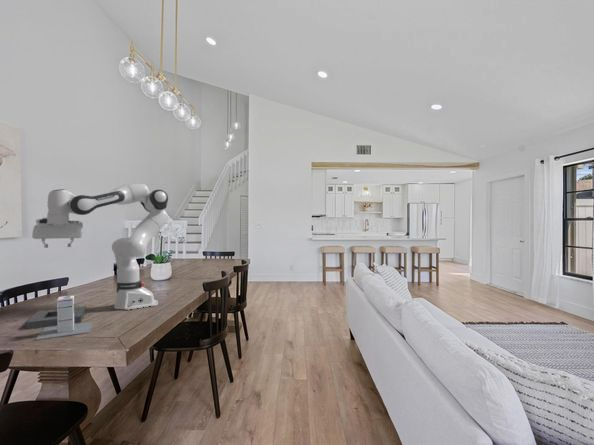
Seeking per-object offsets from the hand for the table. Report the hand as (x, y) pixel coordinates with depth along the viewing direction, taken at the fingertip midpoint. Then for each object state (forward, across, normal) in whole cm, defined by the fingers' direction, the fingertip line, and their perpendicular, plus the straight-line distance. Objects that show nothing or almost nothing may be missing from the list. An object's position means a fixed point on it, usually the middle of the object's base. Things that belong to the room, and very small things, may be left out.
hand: (58, 247), depth 158 cm
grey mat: (+35, -3, +32) cm, 48 cm away
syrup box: (+35, -3, +32) cm, 48 cm away
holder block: (+35, -1, +10) cm, 36 cm away
